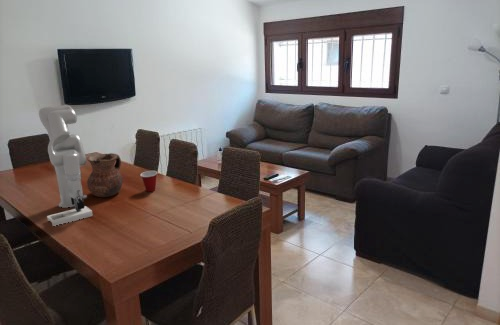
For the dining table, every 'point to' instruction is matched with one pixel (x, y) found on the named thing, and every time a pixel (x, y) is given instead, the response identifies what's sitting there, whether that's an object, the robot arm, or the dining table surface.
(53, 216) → the keyhole plate
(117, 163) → the jug
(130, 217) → the dining table surface
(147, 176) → the plastic cup
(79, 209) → the peg
